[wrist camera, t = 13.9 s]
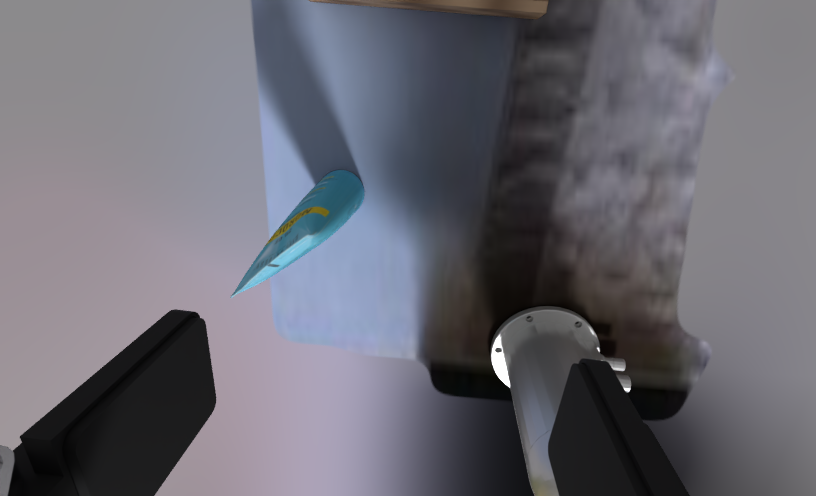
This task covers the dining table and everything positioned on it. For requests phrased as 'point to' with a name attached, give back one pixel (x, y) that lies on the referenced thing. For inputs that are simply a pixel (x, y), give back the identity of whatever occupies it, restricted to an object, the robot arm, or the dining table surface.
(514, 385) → the robot arm
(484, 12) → the wooden compartment tray
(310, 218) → the tube
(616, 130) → the dining table surface
